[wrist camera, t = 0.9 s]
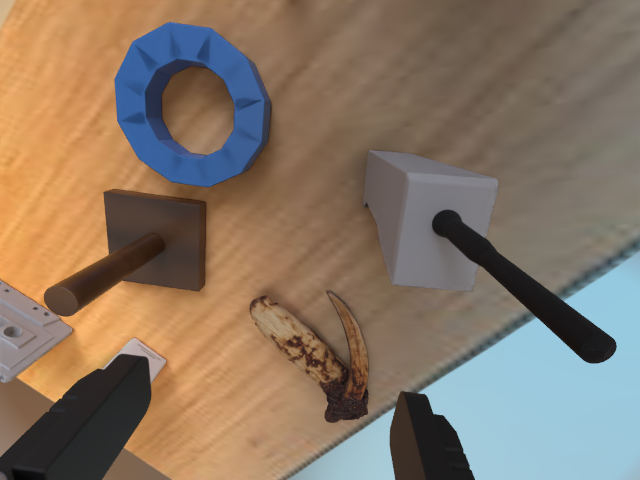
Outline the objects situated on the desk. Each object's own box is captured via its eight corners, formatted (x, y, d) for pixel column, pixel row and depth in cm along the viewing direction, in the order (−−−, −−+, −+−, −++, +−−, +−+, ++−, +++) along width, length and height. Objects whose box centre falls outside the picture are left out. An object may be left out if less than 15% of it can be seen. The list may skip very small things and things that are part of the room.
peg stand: (113, 188, 31) (-25, 225, 19) (206, 201, 31) (125, 246, 19) (120, 273, 34) (4, 349, 22) (204, 285, 34) (134, 368, 22)
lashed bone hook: (406, 368, 36) (303, 254, 32) (418, 401, 32) (301, 274, 28) (342, 408, 38) (237, 306, 34) (344, 444, 34) (224, 333, 30)
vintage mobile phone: (361, 204, 30) (457, 471, 6) (368, 149, 29) (525, 240, 5) (401, 207, 30) (644, 489, 6) (410, 152, 28) (777, 260, 5)
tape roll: (130, 24, 26) (109, 13, 24) (275, 45, 26) (269, 36, 24) (138, 171, 30) (121, 175, 28) (264, 189, 30) (258, 194, 28)
